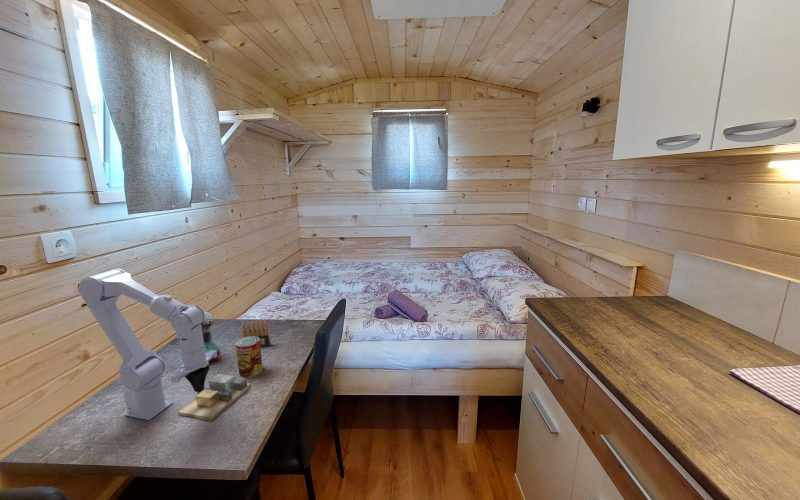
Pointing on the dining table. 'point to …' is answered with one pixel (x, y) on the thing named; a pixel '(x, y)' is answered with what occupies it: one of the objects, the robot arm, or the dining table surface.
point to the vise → (219, 407)
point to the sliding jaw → (212, 397)
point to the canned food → (249, 356)
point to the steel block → (222, 382)
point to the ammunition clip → (257, 332)
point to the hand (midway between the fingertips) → (199, 390)
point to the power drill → (209, 336)
